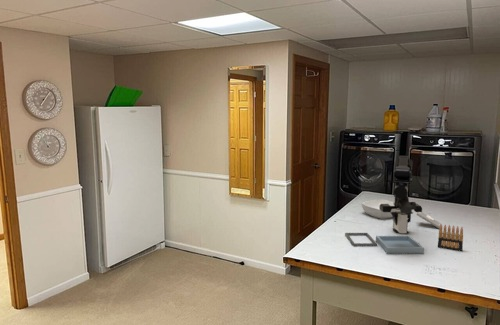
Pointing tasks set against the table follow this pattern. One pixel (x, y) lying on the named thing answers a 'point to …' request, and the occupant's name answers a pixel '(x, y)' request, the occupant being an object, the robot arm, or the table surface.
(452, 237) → the ammunition clip
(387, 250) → the tray
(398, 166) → the robot arm
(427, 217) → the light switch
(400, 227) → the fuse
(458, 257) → the table surface
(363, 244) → the holder frame
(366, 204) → the white bowl
